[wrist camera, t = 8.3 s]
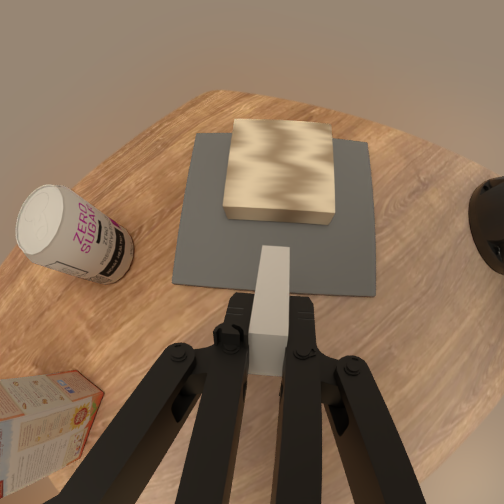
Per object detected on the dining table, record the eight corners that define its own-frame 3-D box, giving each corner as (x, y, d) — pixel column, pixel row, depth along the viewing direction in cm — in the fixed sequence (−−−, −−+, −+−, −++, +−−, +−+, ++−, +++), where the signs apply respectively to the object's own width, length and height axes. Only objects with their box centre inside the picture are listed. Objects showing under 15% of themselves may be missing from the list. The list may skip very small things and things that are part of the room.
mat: (365, 146, 38) (367, 142, 37) (372, 297, 33) (375, 296, 32) (197, 137, 40) (196, 133, 39) (174, 284, 35) (171, 283, 34)
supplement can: (79, 246, 37) (8, 211, 23) (122, 214, 38) (59, 163, 23) (98, 296, 35) (20, 277, 21) (145, 264, 36) (77, 227, 22)
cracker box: (74, 367, 33) (-45, 378, 13) (106, 392, 32) (-13, 427, 12) (52, 434, 31) (-45, 466, 10) (80, 459, 30) (-13, 507, 9)
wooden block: (328, 225, 35) (326, 142, 37) (335, 212, 31) (331, 123, 33) (228, 219, 36) (237, 137, 38) (222, 206, 31) (234, 118, 34)
